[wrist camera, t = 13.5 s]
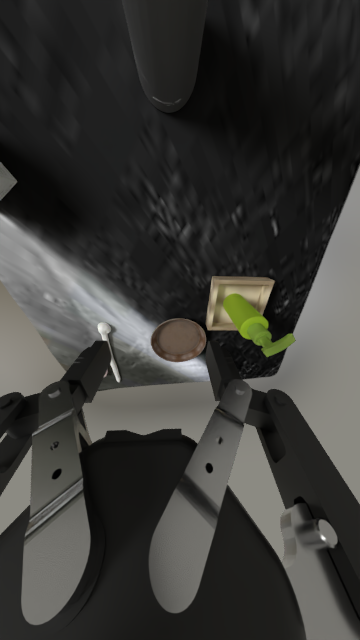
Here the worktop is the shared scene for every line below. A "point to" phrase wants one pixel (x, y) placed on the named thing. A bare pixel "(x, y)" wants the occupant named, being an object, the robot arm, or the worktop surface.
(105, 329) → the white ball-headed stick
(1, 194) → the supplement box
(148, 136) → the worktop surface
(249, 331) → the soap dispenser
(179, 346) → the plant saucer
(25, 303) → the worktop surface
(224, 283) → the birch crate
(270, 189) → the worktop surface
